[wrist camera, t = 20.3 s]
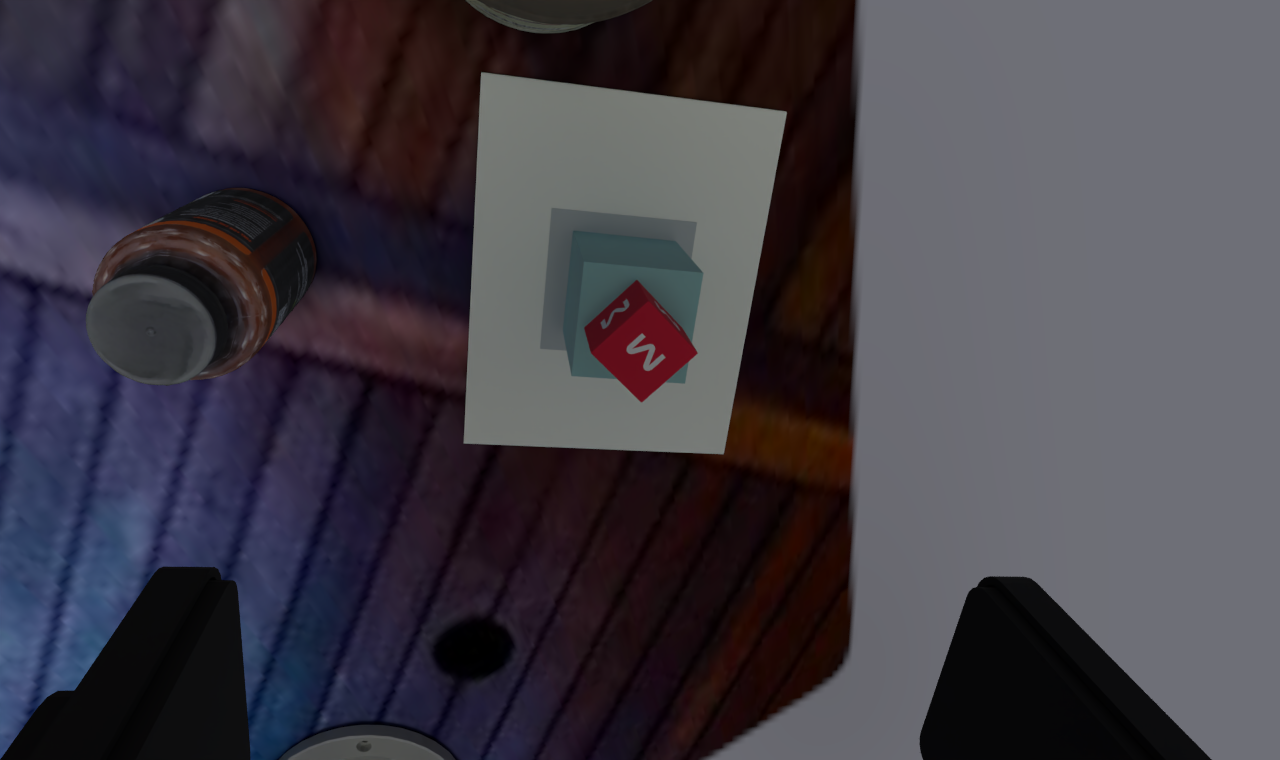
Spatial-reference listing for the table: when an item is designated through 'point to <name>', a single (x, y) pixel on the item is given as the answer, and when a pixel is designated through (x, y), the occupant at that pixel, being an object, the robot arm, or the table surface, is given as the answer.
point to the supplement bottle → (200, 287)
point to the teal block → (609, 271)
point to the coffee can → (553, 12)
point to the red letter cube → (639, 341)
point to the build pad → (619, 205)
